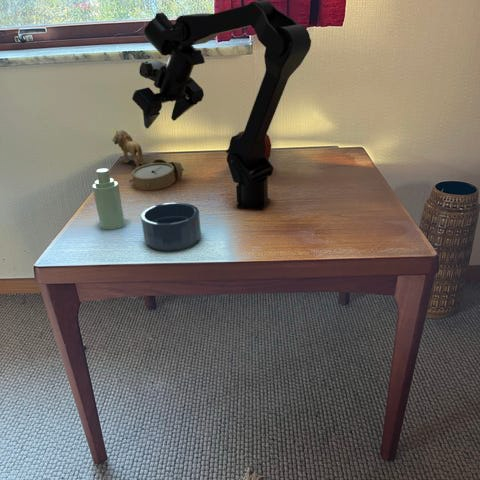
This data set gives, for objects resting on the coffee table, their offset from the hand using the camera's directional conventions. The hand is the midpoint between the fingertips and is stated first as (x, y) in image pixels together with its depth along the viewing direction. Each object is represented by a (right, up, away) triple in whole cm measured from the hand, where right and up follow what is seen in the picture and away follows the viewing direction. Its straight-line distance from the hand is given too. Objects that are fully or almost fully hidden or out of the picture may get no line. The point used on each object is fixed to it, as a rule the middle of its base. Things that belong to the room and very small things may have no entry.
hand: (159, 123), depth 129 cm
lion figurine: (-12, -3, +23) cm, 26 cm away
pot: (+6, -33, -23) cm, 41 cm away
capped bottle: (-8, -28, -14) cm, 33 cm away
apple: (+24, -9, +13) cm, 28 cm away
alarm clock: (-1, -12, +9) cm, 15 cm away
